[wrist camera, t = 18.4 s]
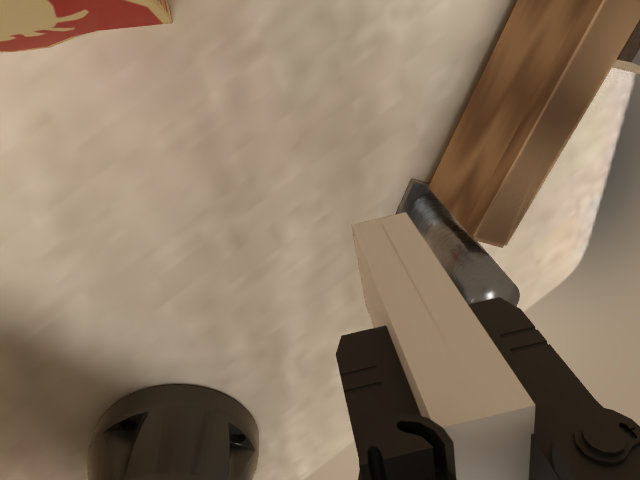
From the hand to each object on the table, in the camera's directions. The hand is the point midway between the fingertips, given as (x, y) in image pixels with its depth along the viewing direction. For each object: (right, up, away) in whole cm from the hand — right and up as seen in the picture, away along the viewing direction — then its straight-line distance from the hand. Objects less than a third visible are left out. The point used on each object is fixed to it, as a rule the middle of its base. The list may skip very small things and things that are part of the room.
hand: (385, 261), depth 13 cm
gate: (+9, +11, +18) cm, 23 cm away
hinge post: (+6, +3, +23) cm, 24 cm away
